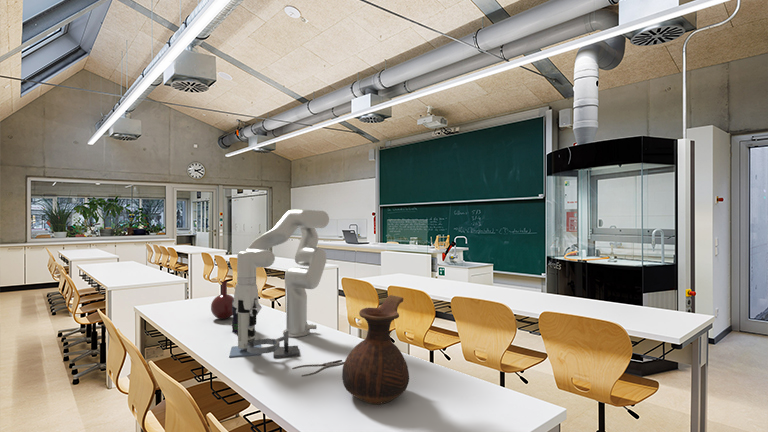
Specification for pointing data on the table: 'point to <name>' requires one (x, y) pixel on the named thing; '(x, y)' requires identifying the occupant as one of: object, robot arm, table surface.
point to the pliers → (322, 365)
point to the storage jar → (234, 321)
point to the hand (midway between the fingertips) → (246, 323)
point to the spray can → (244, 326)
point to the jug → (377, 358)
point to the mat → (241, 352)
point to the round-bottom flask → (222, 304)
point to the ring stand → (274, 347)
